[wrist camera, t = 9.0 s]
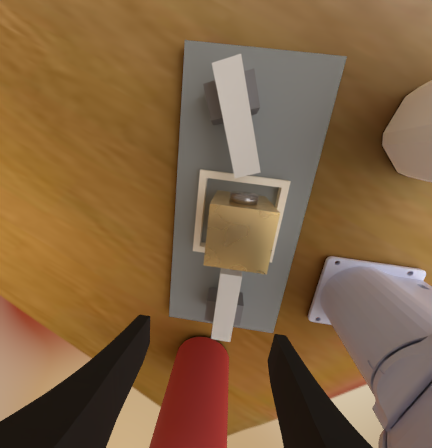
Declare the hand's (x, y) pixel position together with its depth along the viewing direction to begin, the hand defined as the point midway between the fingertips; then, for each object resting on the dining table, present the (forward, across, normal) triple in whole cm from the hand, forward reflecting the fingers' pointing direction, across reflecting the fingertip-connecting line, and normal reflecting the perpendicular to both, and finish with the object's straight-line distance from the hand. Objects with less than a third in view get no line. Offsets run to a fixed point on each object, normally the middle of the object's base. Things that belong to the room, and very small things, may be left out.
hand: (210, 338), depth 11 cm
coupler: (+9, -1, -5) cm, 11 cm away
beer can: (+11, 0, +14) cm, 18 cm away
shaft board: (+10, -1, -5) cm, 12 cm away
